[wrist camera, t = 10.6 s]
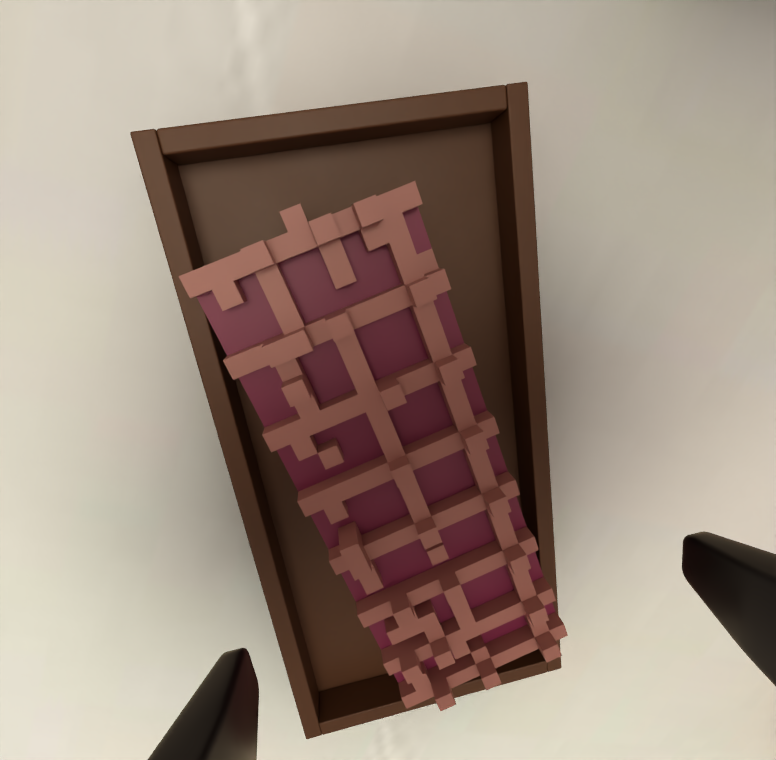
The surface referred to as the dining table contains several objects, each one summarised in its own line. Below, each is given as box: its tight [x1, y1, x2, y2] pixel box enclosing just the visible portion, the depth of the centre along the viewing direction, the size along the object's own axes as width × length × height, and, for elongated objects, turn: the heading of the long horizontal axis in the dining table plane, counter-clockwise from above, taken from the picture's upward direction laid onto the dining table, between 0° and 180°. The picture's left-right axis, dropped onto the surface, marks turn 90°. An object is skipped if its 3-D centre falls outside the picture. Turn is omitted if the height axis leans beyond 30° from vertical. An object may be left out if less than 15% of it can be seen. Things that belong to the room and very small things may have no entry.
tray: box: [131, 82, 561, 739], centre depth 17 cm, size 12×24×2 cm, turn 9°
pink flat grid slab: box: [179, 181, 568, 711], centre depth 15 cm, size 7×19×2 cm, turn 22°
